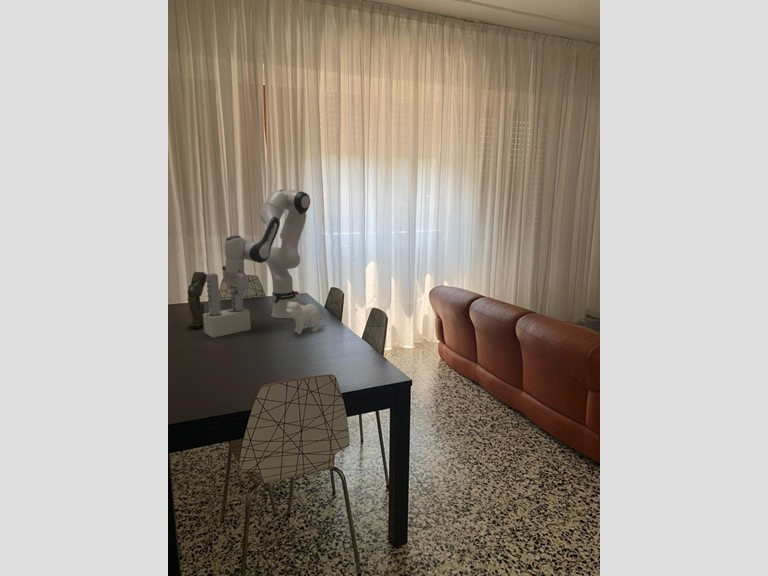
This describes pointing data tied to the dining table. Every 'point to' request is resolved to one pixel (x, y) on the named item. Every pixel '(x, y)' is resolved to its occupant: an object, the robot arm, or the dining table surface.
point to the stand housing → (226, 323)
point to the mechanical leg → (196, 299)
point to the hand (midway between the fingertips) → (236, 294)
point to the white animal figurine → (303, 315)
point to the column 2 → (236, 300)
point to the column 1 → (213, 295)
